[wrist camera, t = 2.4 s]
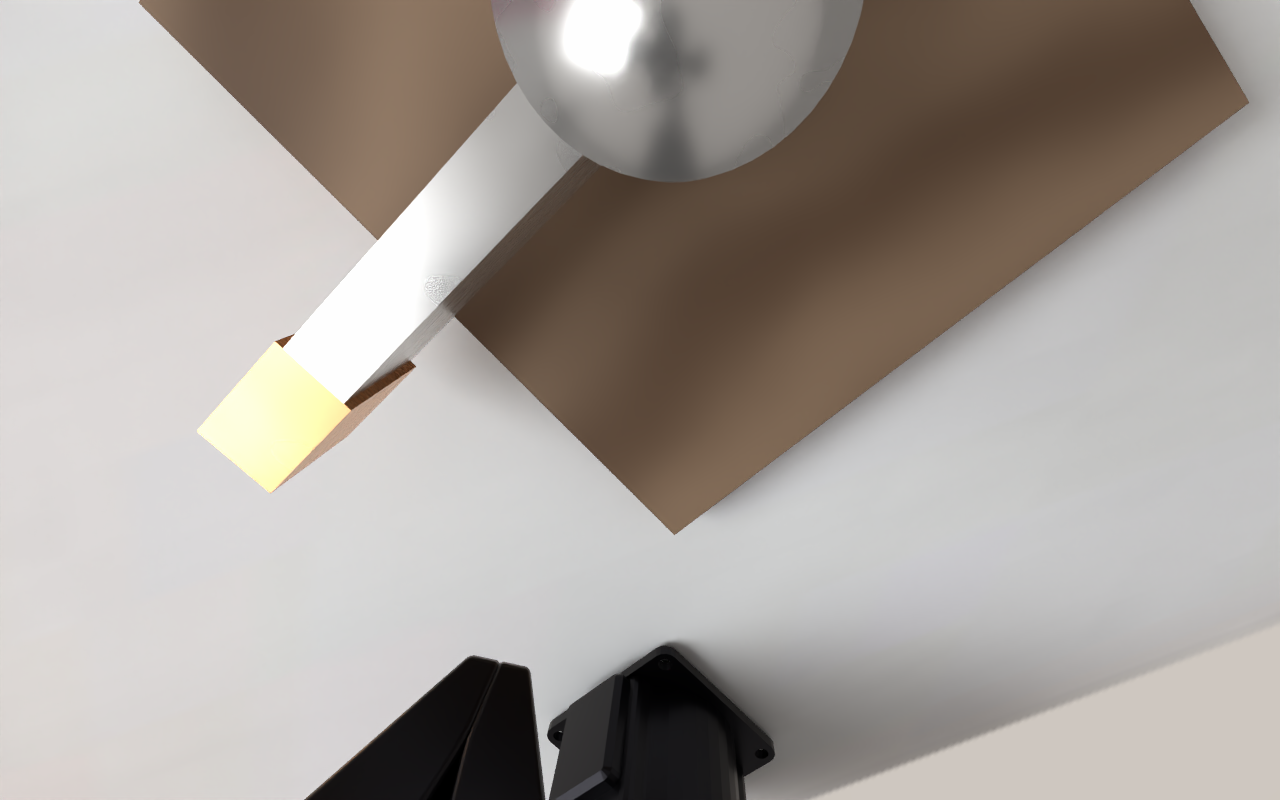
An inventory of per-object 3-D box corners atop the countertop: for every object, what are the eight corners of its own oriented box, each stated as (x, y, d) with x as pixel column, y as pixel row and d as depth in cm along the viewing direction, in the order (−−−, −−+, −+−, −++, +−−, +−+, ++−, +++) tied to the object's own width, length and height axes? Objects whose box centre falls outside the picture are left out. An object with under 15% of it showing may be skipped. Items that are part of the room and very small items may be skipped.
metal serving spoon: (690, -223, 11) (692, -388, 8) (878, 39, 13) (947, -13, 9) (228, 329, 16) (109, 367, 13) (402, 485, 17) (335, 556, 14)
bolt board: (1197, 109, 16) (1531, 60, 9) (675, 510, 20) (671, 649, 14) (683, -734, 11) (683, -1779, 5) (185, 18, 16) (-110, -82, 10)
